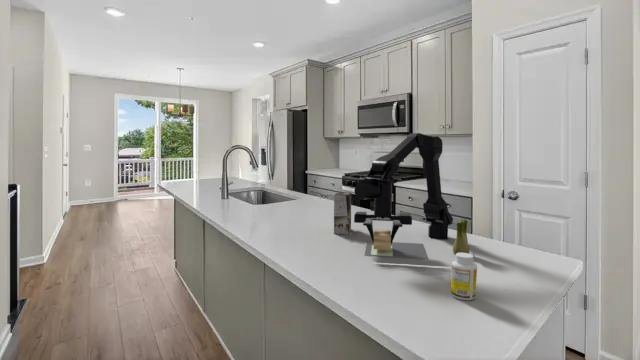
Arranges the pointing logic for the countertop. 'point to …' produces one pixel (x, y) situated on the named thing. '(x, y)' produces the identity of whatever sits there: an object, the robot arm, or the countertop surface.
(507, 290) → the countertop surface
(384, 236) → the oak block
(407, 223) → the robot arm
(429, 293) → the countertop surface
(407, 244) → the mat
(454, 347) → the countertop surface
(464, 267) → the supplement bottle
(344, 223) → the coffee box
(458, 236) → the fennel bulb
